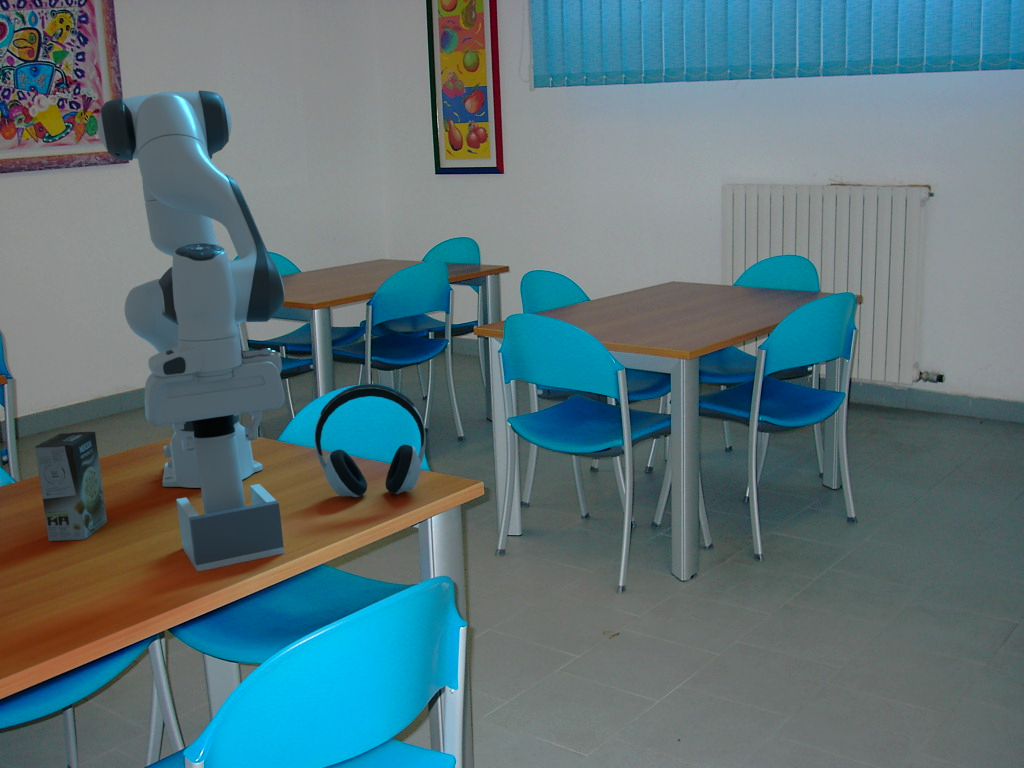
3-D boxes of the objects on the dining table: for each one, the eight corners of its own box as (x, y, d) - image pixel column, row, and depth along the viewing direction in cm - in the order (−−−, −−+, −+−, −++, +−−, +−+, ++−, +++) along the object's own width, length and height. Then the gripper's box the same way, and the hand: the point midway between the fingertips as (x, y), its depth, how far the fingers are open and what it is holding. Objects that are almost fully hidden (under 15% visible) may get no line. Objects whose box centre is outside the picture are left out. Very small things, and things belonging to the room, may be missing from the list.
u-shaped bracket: (182, 547, 170) (176, 499, 168) (264, 531, 176) (259, 483, 174) (197, 571, 160) (191, 520, 158) (284, 553, 165) (278, 503, 163)
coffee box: (86, 540, 176) (72, 445, 173) (47, 542, 177) (33, 446, 173) (108, 521, 185) (95, 430, 182) (71, 523, 186) (58, 432, 182)
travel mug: (211, 547, 165) (193, 418, 162) (205, 537, 171) (188, 413, 168) (252, 539, 168) (235, 412, 165) (245, 529, 174) (229, 407, 171)
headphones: (429, 484, 196) (421, 375, 192) (430, 498, 188) (421, 385, 184) (322, 493, 194) (311, 384, 190) (318, 507, 186) (307, 394, 182)
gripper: (274, 343, 168) (282, 429, 171) (137, 360, 159) (148, 450, 162) (285, 349, 163) (293, 438, 166) (143, 367, 154) (155, 460, 157)
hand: (220, 444), depth 164 cm, fingers open, 8 cm apart
